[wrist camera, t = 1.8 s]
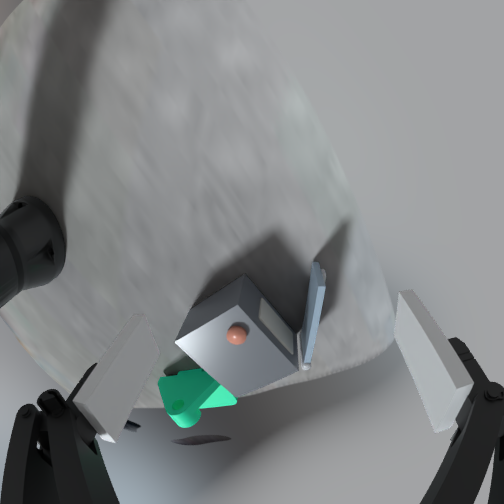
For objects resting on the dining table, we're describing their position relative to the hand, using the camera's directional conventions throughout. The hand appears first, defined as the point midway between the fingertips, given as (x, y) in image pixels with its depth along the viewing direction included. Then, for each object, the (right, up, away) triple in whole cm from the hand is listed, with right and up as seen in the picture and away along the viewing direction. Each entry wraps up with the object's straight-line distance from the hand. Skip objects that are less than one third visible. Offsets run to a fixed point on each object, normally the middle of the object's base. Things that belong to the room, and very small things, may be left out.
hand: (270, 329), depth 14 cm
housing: (-2, -6, +27) cm, 27 cm away
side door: (+7, -3, +24) cm, 25 cm away
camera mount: (-10, -19, +33) cm, 39 cm away
